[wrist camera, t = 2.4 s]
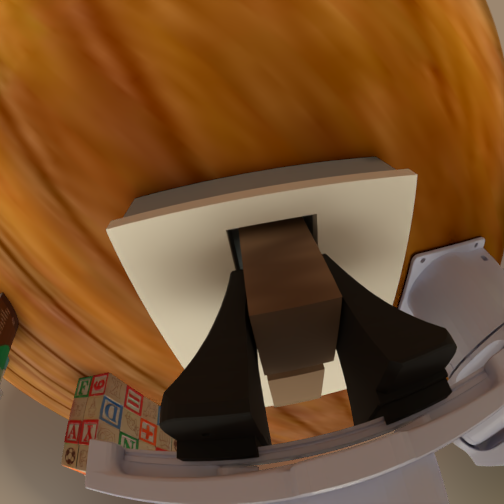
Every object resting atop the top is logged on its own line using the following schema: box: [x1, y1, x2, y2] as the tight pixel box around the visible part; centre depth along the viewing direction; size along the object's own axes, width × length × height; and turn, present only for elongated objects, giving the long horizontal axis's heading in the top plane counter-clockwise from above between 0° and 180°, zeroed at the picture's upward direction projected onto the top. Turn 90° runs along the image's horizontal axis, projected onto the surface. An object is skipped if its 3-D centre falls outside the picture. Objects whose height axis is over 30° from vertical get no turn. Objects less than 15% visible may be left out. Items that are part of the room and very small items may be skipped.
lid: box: [106, 169, 417, 407], centre depth 16 cm, size 15×21×4 cm
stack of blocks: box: [61, 373, 177, 476], centre depth 26 cm, size 21×6×12 cm, turn 24°
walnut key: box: [238, 216, 342, 376], centre depth 13 cm, size 3×4×8 cm
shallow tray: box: [123, 157, 396, 270], centre depth 19 cm, size 14×20×3 cm
